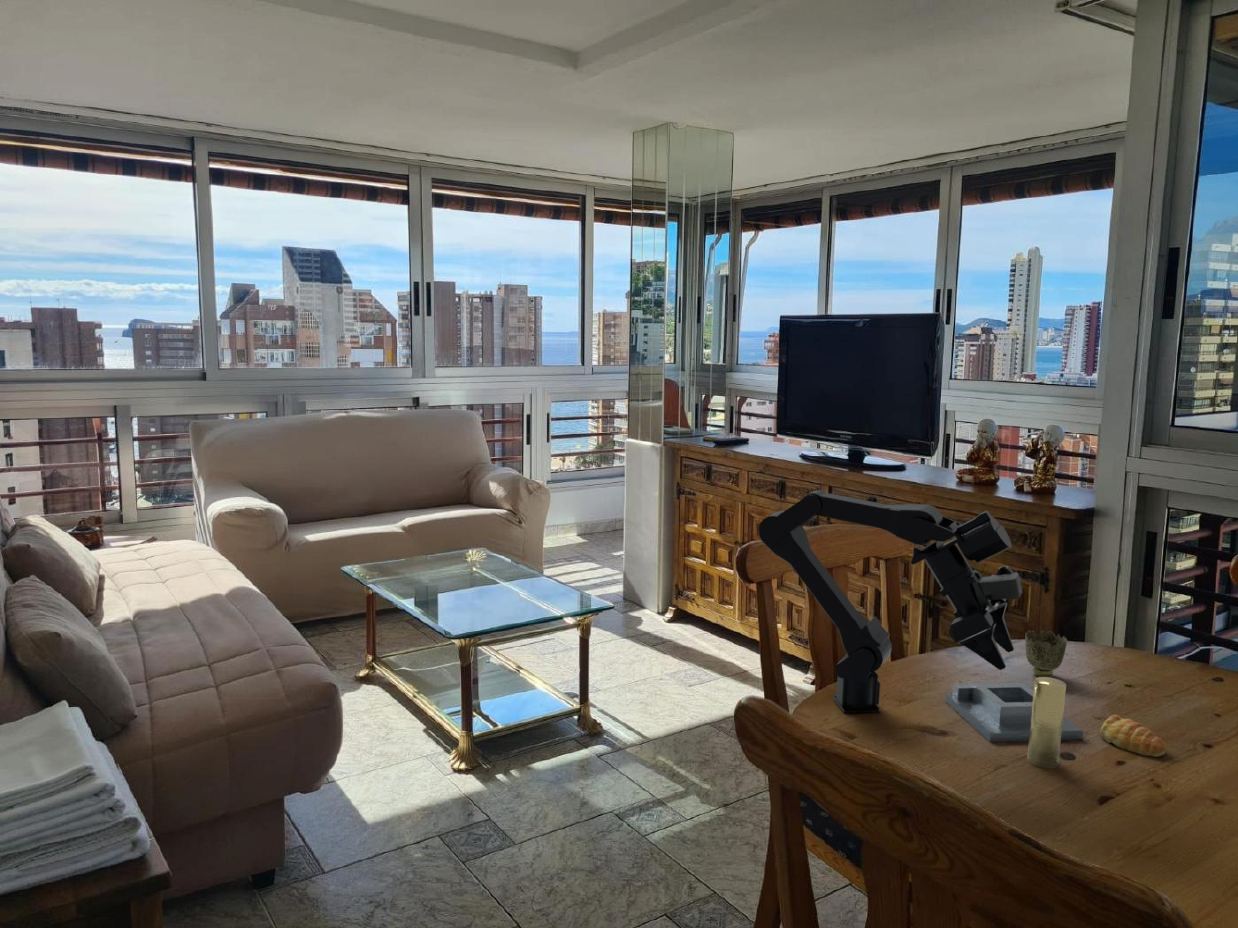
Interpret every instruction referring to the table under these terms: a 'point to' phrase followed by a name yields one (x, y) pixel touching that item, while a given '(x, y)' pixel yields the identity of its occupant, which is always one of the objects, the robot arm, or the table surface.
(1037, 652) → the cup
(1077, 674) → the table surface
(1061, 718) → the sleeve
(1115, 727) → the pastry
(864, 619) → the robot arm
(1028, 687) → the jig
